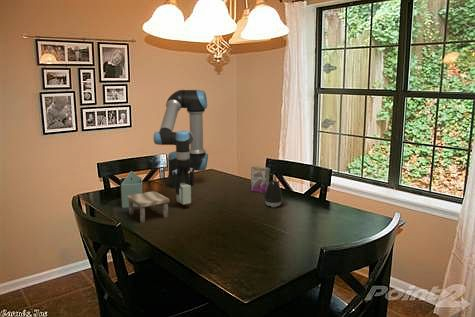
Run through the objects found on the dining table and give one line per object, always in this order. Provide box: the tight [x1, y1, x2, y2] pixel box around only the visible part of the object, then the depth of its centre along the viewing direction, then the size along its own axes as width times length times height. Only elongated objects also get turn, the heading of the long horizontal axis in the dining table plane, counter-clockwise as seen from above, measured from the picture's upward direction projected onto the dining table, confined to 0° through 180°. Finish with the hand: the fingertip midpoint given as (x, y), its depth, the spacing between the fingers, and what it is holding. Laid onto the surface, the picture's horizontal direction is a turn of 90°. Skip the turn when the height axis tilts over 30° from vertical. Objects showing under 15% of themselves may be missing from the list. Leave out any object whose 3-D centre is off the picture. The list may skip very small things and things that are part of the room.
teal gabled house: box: [120, 170, 144, 209], centre depth 232 cm, size 16×8×20 cm, turn 150°
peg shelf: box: [127, 190, 170, 223], centre depth 216 cm, size 16×18×10 cm
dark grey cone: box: [264, 180, 283, 208], centre depth 233 cm, size 10×10×15 cm
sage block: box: [175, 183, 192, 205], centre depth 229 cm, size 5×8×10 cm, turn 36°
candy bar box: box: [250, 165, 270, 194], centre depth 261 cm, size 11×5×16 cm, turn 58°
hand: (183, 198), depth 229 cm, fingers closed on sage block, 5 cm apart
